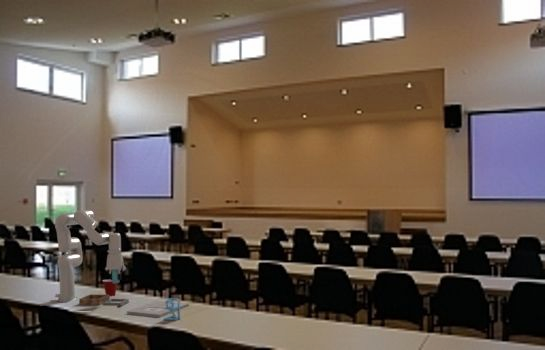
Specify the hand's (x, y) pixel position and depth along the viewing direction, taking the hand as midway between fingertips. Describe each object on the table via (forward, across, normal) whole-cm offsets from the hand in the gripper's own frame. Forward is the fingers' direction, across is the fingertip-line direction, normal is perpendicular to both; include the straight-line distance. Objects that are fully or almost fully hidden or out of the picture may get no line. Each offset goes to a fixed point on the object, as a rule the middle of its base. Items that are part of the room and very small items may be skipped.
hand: (115, 279), depth 345 cm
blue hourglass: (+17, +51, -33) cm, 63 cm away
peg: (+2, 0, 0) cm, 2 cm away
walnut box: (+16, -15, 0) cm, 22 cm away
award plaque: (+17, +34, -12) cm, 40 cm away
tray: (+16, 0, 0) cm, 16 cm away
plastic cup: (+17, -15, +23) cm, 32 cm away
